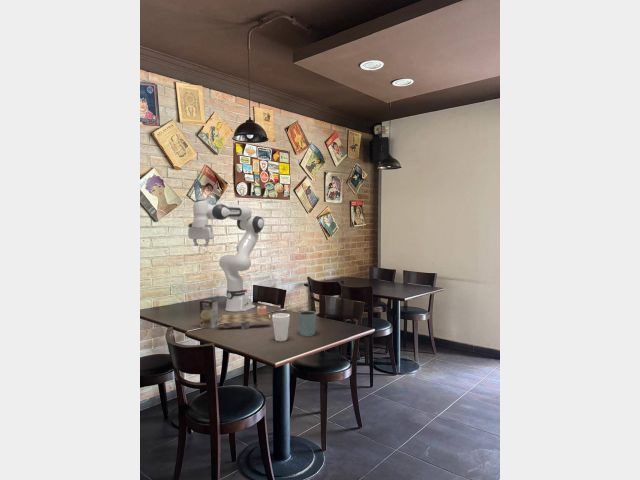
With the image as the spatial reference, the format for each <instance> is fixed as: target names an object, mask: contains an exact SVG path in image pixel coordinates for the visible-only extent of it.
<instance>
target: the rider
mask: <svg viewBox="0 0 640 480" xmlns="http://www.w3.org/2000/svg"><path fill="white" fill-rule="evenodd" d="M256 309H257V311H256V312H257V313H258V315H266V313H267V306H266V305H257V307H256Z"/></svg>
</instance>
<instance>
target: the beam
mask: <svg viewBox="0 0 640 480" xmlns="http://www.w3.org/2000/svg"><path fill="white" fill-rule="evenodd" d="M271 320H272V316H271V315H270V314H269V312H266V315H258V313H244V314H243V313H242V314H241V313H240V314H225V315H224V314H223V315H222V314H221V315H220V317H218V325H219V324H224V327H223V328H224V329H232V324H233V323H234V324H236V323H240V326H241V329H240V330H249V329H250V323H252V322H253V323H254V322H255V323H256V322H269V321H270V322H271Z"/></svg>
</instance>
